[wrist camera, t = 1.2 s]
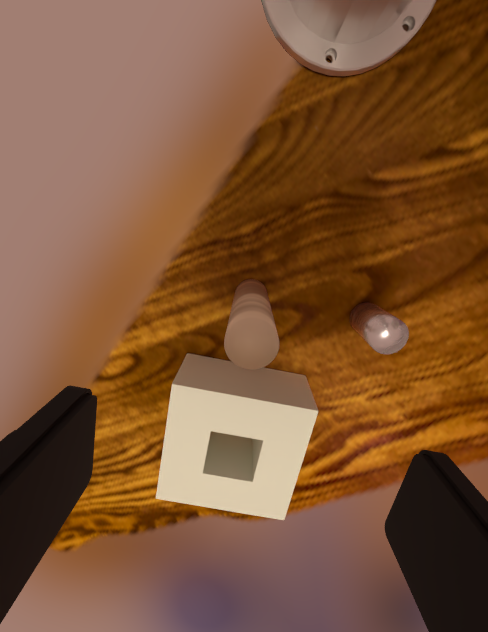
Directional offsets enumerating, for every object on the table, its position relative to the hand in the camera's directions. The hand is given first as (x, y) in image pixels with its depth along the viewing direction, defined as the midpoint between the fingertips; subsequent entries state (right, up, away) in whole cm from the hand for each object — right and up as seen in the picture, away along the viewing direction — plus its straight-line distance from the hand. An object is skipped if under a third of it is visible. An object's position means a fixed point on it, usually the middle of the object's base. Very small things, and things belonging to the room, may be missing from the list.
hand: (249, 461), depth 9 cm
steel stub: (+11, +4, +20) cm, 23 cm away
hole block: (-1, -6, +23) cm, 24 cm away
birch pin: (0, +6, +19) cm, 20 cm away
